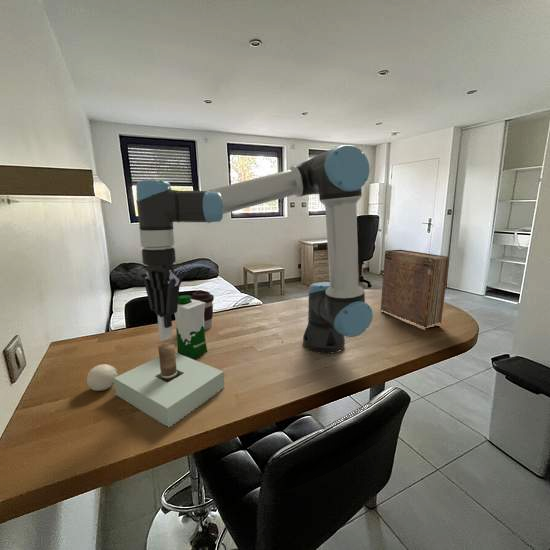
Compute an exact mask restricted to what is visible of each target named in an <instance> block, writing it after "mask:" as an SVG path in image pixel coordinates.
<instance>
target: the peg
mask: <svg viewBox="0 0 550 550" xmlns="http://www.w3.org/2000/svg"><path fill="white" fill-rule="evenodd" d="M175 352H176V344H174V343H164V344H161V345H160V346H158V357H159V359H160V370H161V380H163V381H165V382H167V383H168V382H170V381H172V380H173V379H175V378H177V368H176V355H175Z"/></svg>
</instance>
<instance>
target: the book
mask: <svg viewBox="0 0 550 550" xmlns="http://www.w3.org/2000/svg"><path fill="white" fill-rule="evenodd" d="M384 251H385V252H384V259H383V260H384V261H383V274H382V276H383V277H382V286H381V287H382V290H381V299H380V301H381V302H380V311H381V310H383V311H386V312H388V313H391V314H393V315H396V316H398V317H401V318H403V319H406V320H409V321H411V322H414V323H416V324H419V325H421V326H424V327H427V326H429V325H432V324H436V323H439V322H440V323H441V324H442V317H443V310H444V303H445V295H446V288H447V281H448V273H449V265H450V256H447V255H440V254H432V253H426V252H419V251H413V250H406V249H405V250H404V249H392V250H384Z"/></svg>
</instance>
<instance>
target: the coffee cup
mask: <svg viewBox="0 0 550 550" xmlns="http://www.w3.org/2000/svg"><path fill="white" fill-rule="evenodd" d="M190 296H191V299H193V300H197V301H201V302H205V303H206V304H205V310H204V327H205V331H206V330H209V329H211V328H212V326H213V317H214V313H213V311H214V303H213V301H214V299H215V298H214V297H215V296H214V295H213V294H211V293H210V292H209V291H206V290H201V291H195V292H193V293H192V295H190Z"/></svg>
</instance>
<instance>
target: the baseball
mask: <svg viewBox="0 0 550 550" xmlns="http://www.w3.org/2000/svg"><path fill="white" fill-rule="evenodd" d="M117 376H119V375H118V370H117V369H116V368H115V367H114V366H112V365H110V364H106V363H105V364H98V365H96V366H94V367H92V368H91V369H90V370H89V371H88V373H87V376H86V382H87V385H88V386H89V387H88V388H90V389H91V390H93V391H99V392H101V391H105V390H107V389H109V388H110V387H111V386H113V384H115V383H114V378H115V377H117Z"/></svg>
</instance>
